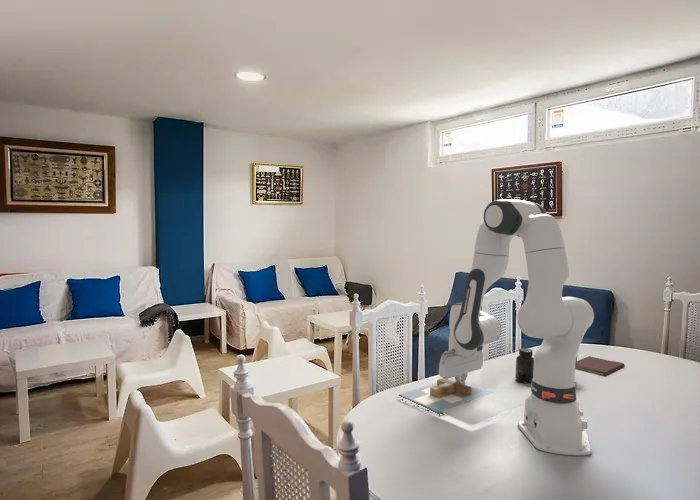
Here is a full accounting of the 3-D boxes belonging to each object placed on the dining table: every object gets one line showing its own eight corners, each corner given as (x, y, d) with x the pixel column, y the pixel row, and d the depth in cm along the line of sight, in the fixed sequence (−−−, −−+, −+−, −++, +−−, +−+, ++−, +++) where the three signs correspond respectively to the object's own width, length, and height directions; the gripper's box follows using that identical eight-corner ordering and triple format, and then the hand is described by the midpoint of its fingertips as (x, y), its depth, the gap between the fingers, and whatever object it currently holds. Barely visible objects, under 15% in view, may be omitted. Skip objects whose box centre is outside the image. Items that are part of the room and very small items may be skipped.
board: (452, 381, 177) (452, 377, 177) (492, 396, 163) (492, 391, 163) (399, 398, 160) (399, 394, 159) (439, 416, 145) (439, 411, 145)
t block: (444, 384, 170) (444, 377, 170) (471, 394, 160) (471, 387, 160) (421, 391, 162) (421, 384, 162) (448, 402, 153) (448, 394, 153)
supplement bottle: (537, 383, 176) (538, 352, 175) (518, 383, 176) (519, 352, 175) (530, 377, 183) (531, 347, 182) (512, 377, 183) (513, 347, 182)
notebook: (567, 367, 197) (567, 363, 197) (588, 359, 210) (588, 355, 209) (605, 377, 185) (605, 372, 185) (624, 367, 198) (624, 363, 198)
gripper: (449, 354, 156) (448, 394, 157) (486, 344, 168) (485, 382, 169) (434, 350, 161) (434, 389, 162) (472, 341, 173) (471, 377, 174)
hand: (460, 385), depth 166 cm, fingers closed
